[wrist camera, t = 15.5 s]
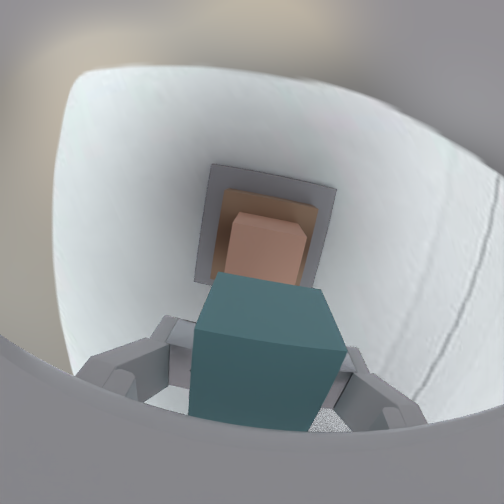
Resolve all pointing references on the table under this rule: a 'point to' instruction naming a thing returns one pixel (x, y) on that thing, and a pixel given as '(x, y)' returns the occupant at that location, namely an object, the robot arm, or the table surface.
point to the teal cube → (263, 354)
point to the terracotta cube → (265, 248)
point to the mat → (265, 185)
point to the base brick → (260, 206)
